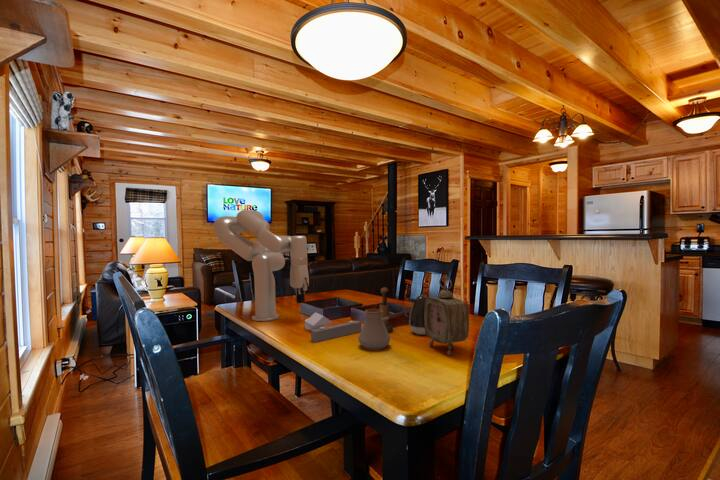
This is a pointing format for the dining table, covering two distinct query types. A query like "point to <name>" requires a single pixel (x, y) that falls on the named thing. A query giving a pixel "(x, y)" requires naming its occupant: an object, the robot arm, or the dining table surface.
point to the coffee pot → (375, 330)
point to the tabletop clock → (446, 318)
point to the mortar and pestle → (385, 310)
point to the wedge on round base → (316, 322)
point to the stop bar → (335, 331)
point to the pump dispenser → (417, 315)
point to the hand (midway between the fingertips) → (300, 302)
